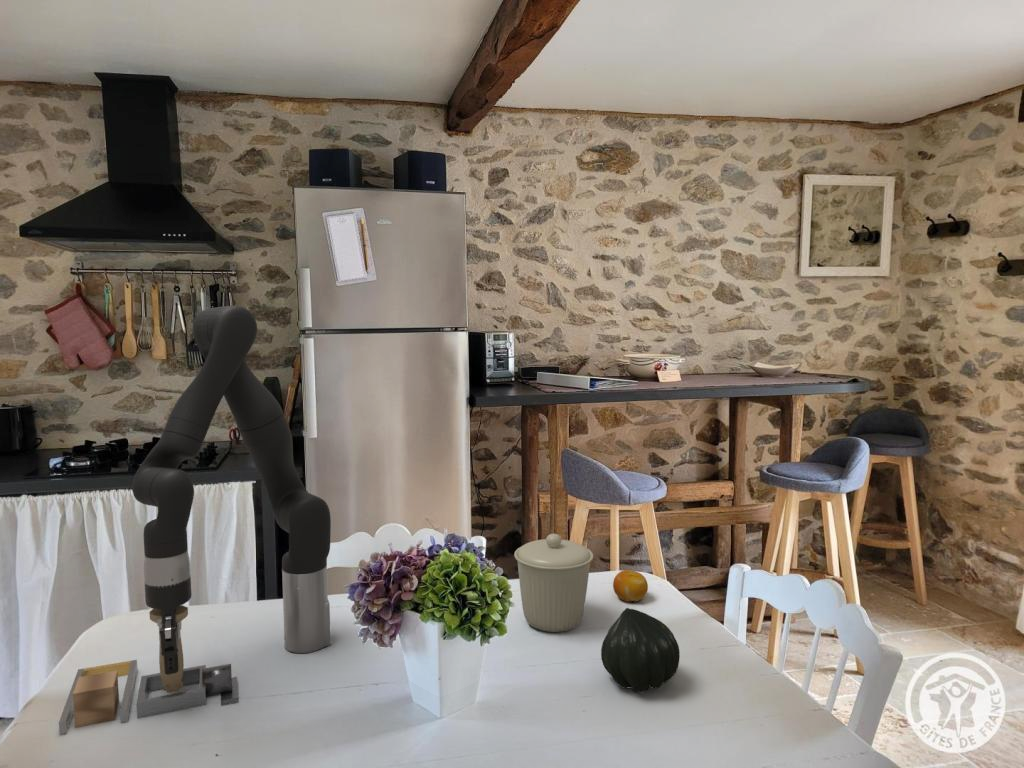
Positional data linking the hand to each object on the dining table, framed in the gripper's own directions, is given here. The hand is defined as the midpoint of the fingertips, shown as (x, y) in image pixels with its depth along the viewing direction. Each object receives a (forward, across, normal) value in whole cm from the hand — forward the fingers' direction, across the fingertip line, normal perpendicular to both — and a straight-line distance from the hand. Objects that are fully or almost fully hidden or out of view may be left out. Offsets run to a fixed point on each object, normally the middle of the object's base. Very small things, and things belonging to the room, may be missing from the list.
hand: (172, 666), depth 130 cm
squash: (+8, -26, -83) cm, 88 cm away
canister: (+8, +4, -79) cm, 80 cm away
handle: (+4, 0, 0) cm, 4 cm away
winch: (+7, 0, -3) cm, 8 cm away
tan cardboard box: (+6, -1, +12) cm, 13 cm away
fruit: (+8, +9, -103) cm, 104 cm away
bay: (+7, +4, +12) cm, 15 cm away
